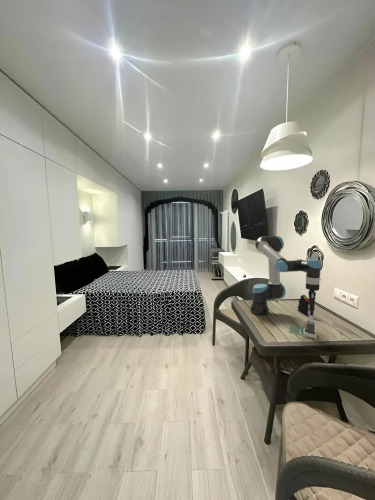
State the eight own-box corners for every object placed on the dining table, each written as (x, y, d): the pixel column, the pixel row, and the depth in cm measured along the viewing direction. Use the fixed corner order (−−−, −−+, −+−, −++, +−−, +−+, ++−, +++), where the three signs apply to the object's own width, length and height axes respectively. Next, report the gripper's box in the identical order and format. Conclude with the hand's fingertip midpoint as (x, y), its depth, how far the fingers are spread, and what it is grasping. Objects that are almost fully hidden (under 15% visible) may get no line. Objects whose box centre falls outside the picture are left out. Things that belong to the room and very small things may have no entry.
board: (289, 334, 134) (289, 329, 134) (289, 326, 145) (290, 322, 144) (317, 340, 127) (317, 335, 126) (315, 332, 137) (316, 327, 137)
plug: (306, 335, 131) (306, 323, 130) (306, 332, 135) (306, 320, 134) (314, 336, 129) (315, 324, 128) (313, 333, 133) (314, 322, 132)
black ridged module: (298, 307, 176) (304, 294, 168) (308, 319, 165) (315, 306, 157) (294, 307, 175) (301, 294, 167) (304, 319, 164) (311, 306, 156)
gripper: (321, 288, 117) (318, 325, 119) (318, 280, 135) (316, 311, 138) (306, 286, 121) (304, 322, 123) (305, 278, 139) (303, 309, 142)
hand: (310, 316), depth 131 cm, fingers open, 9 cm apart
